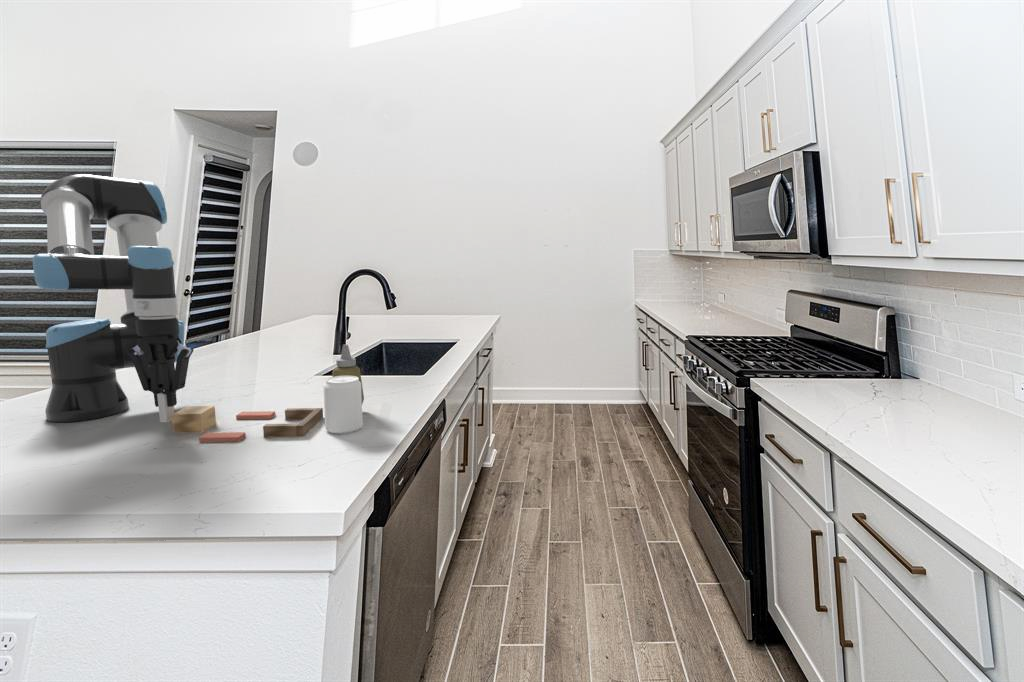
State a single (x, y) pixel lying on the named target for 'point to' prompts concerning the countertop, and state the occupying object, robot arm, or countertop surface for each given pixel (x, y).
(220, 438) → the mats
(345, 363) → the squeeze bottle
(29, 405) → the countertop surface
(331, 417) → the beverage can
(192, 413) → the oak block
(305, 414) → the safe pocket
